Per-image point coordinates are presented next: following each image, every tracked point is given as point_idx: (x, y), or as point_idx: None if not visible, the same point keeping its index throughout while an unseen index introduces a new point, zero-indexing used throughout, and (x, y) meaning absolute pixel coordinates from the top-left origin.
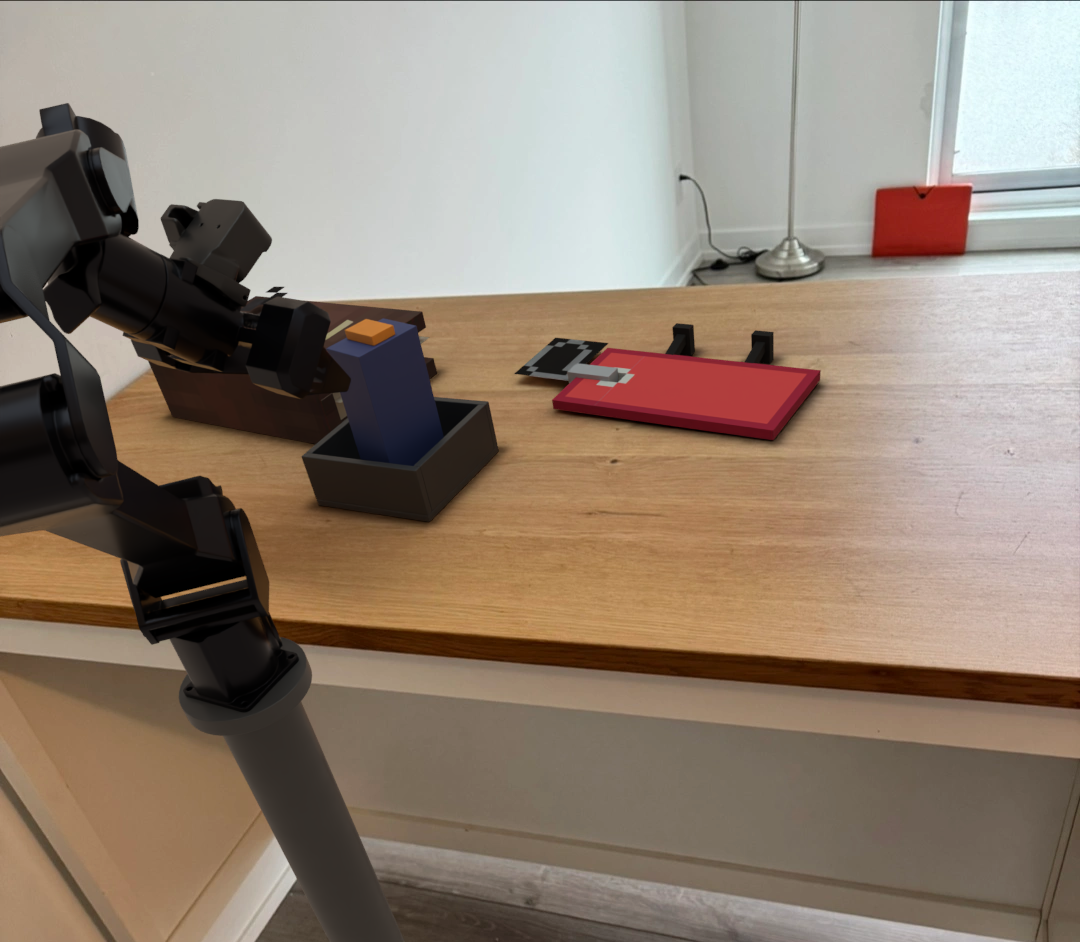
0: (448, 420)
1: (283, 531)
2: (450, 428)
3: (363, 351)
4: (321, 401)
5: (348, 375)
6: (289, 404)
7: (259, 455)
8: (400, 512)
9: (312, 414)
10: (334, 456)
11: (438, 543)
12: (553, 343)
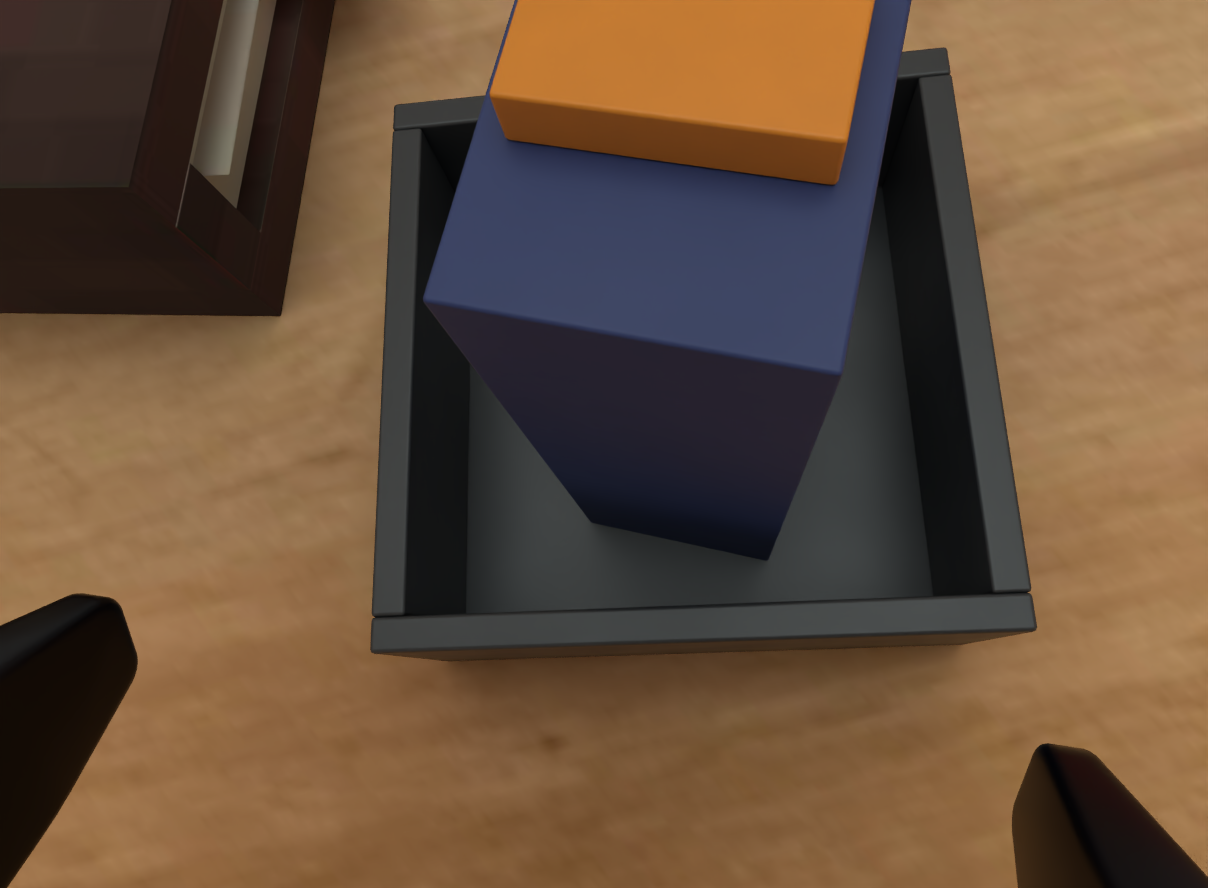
0: None
1: (416, 858)
2: None
3: (812, 283)
4: (179, 228)
5: (1125, 787)
6: (20, 247)
7: (12, 431)
8: (838, 647)
9: (146, 261)
10: (538, 614)
11: None
12: None
